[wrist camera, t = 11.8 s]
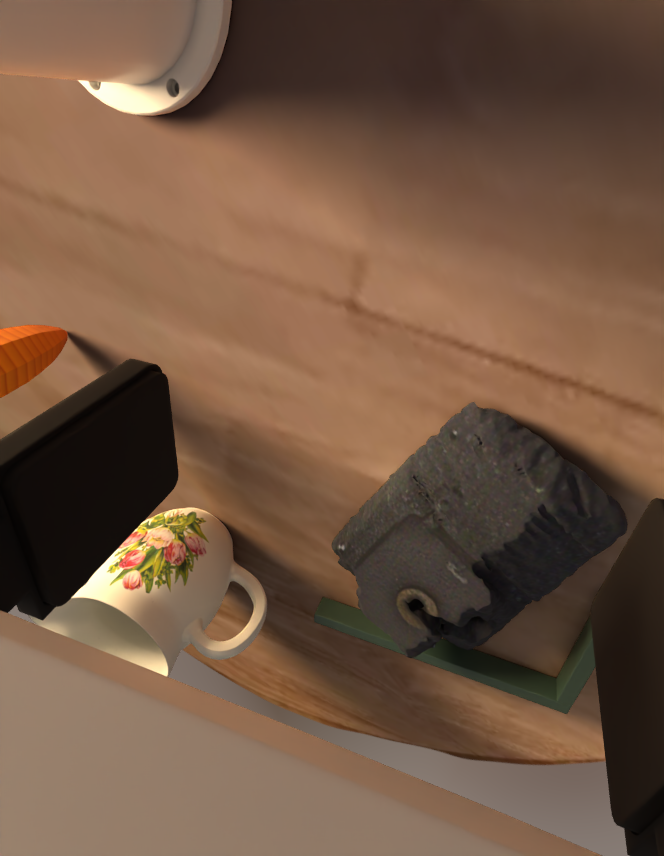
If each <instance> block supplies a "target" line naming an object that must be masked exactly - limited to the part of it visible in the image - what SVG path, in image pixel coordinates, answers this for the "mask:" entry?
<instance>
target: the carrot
mask: <svg viewBox="0 0 664 856" xmlns="http://www.w3.org/2000/svg"><path fill="white" fill-rule="evenodd" d="M66 341H67V332H66V331H65V330H63V329H61V328H57V327H51V326H45V325H25V326H18V327H11V328H5V329H0V398H1V397H3V396H5V395H7V394H9V393H10V392H12V391H14V390H15V389H17V388H19V387H20V386H22V385H24V384H26V383H27V382H29V381H30V380H31V379H33V378H34V377H35V376H37V375H38V374H39V373H41V372H42V371H43V370H44V369H45V368H46V367H48V366H49V365H50V364H51V363H52V362H53V361H54V360H55V359H56V358H57V356H58V355H59V354H60V352H61V351H62V349H63V347H64V345H65V343H66Z"/></svg>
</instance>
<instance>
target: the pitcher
mask: <svg viewBox="0 0 664 856" xmlns="http://www.w3.org/2000/svg"><path fill="white" fill-rule="evenodd" d="M231 581H235V582H237V583H239V584H240V585H241V586H243V587H244V588H245V589H246V591H247V592H248V594H249V596H250V598H251V599H252V602H253V605H254V610H253V614H252V616H251V619H250V621H249V622H248V624H247V625H246V627H245V628H244V629H243V630H242V631H241V632H240V633H239V634H238V635H237V636H235V637H234V638H232V639H230V640H227V641H222V642H221V641H215V640H213V639H211V638H209V637H208V636H207V635H206V634H205V632H204V630H205V629H206V627H207V626H208V625H209V624H210V622H211V621H212V619H213V618H214V616H215V615H216V613H217V611H218V609H219V607H220V606H221V604H222V601H223V599H224V596H225V594H226V591H227V589H228V586H229V583H230V582H231ZM266 613H267V598H266V594H265V591H264V589H263V587H262V585H261V583H260V582H259V581H258V579H257V578H256V577H255V576H254V575H252V574H251V573H250V572H248V571H247V570H246V569H244V568H243V567H241V566H239V565H238V564H237V563H236V562H235V561H234V560H233V541H232V538H231V535H230V533H229V531H228V530H227V528H226V527H225V526H224V524H223V523H222V522H221V521H220V520H218V519H217V518H216V517H215V516H213V515H212V514H210V513H208V512H206V511H204V510H201V509H198V508H184V509H174V510H170V511H166V512H164V513H161V514H159V515H156V516H154V517H152V518H150V519H148V520H146V521H144V522H142V523H141V524H140V525H139V527H138V528H137V529H136V530H135V531H134V532H133V533H132V534H131V535H130V536H129V537H128V538H127V539H126V540H125V541H124V543H123V544H122V545H121V546H120V547H119V548H118V549H117V550H116V551H115V552H114V553H113V554H112V555H111V556H110V557H109V559H108V560H107V561H106V562H105V563H104V564H103V565H102V566H101V567H100V568H99V569H98V570H97V571H96V572H95V573H94V575H93V576H92V577H91V578H90V579H89V581H88V583H87V584H86V585H85V586H84V587H82V588H81V589H79V590H78V592H77V593H76V594H75V595H74V596H73V597H72V598H71V599H70V600H69V601H68V602H67V603H66V604H64V605H62V606H59V607H55V608H54V609H53V611H52V612H51V613H50V614H49V615H48V616H47V617H46V618H45V619H44V620H43V621H42V620H40V619H37V618H35V617H32V616H30V615H28V616H29V617H30V619H31V620H32V621H33V622H34V623H35V624H37V625H39V626H41V627H44V628H46V629H49V630H51V631H54V632H56V633H59V634H61V635H64V636H66V637H69V638H71V639H74V640H76V641H79V642H81V643H84V644H86V645H89V646H91V647H94V648H96V649H99V650H102V651H104V652H107V653H109V654H112V655H114V656H117V657H119V658H122V659H124V660H127V661H129V662H132V663H134V664H137V665H139V666H142V667H144V668H147V669H149V670H152V671H154V672H157V673H159V674H162V675H164V676H167V677H168V676H169V675H170V673H171V670H172V668H173V666H174V663H175V661H176V659H177V657H178V655H179V653H180V651H181V650H182V649H184V648H185V647H187V646H188V645H189V644H190V643H192V644H193V645H194V647H195V648H196V649H197V650H198V651H199V652H200V653H202V654H203V655H205V656H206V657H209V658H211V659H218V660H221V659H228V658H230V657H233V656H236V655H237V654H239V653H241V652H242V651H243V650H245V649H246V648H247V647H248V646H249V645H250V644H251V643H252V642H253V640H254V639H255V638H256V637H257V635H258V633H259V632H260V630H261V628H262V626H263V623H264V621H265V618H266Z"/></svg>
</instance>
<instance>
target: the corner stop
mask: <svg viewBox="0 0 664 856" xmlns="http://www.w3.org/2000/svg"><path fill="white" fill-rule="evenodd" d="M314 622H316V623H319V624H321V625H324V626H327V627H330V628H332V629H335V630H338V631H341V632H343V633H346V634H349V635H352V636H354V637H357V638H360V639H362V640H365V641H368V642H371V643H373V644H376V645H379V646H382V647H384V648H387V649H390V650H393V651H395V652H398V653H401V654H404V655H405V653H403V652H402V651H401V650H400V649H399V647H398V646H397V644H396V643H395V642H394V641H393V640H392V638H391V636H390V635H389V634H386V633H385V632H384V631H383V630H382V629H380V628H379V627H377V626H376V625H375V624H374V623H373V622H371V621H370V620H369V619H368V618H367V617H366V616H365V615H364V614H363V613H362V611H361V610H359V609H357V608H354V607H351V606H348V605H345V604H342V603H339V602H337V601H334V600H331V599H328V598H325V597H323V598H322V600H321V602H320V604H319V606H318V608H317V610H316V612H315V616H314ZM414 659H417V660H420V661H423V662H425V663H428V664H431V665H434V666H436V667H439V668H442V669H445V670H447V671H450V672H453V673H456V674H458V675H461V676H464V677H466V678H469V679H472V680H475V681H477V682H480V683H483V684H486V685H488V686H491V687H494V688H497V689H499V690H502V691H505V692H508V693H510V694H513V695H516V696H518V697H521V698H524V699H527V700H529V701H532V702H535V703H538V704H540V705H543V706H546V707H549V708H551V709H554V710H557V711H559V712H562V713H565V714H567V713H568V712H569V710H570V708H571V706H572V705H573V703H574V702H575V700H576V698H577V697H578V695H579V693H580V692H581V690H582V688H583V687H584V685H585V683H586V682H587V680H588V678H589V677H590V675H591V673H592V672H593V670H594V668H595V667H596V666H595V657H594V648H593V638H592V629H591V619H590V617H589V619H588V620H587V622H586V624H585V626H584V628H583V630H582V632H581V633H580V635H579V637H578V639H577V641H576V643H575V645H574V646H573V648H572V650H571V652H570V654H569V656H568V658H567V660H566V661H565V663H564V665H563V667H562V669H561V671H560V673H559V674H558V676H557V678H554V677H551V676H548V675H545V674H542V673H539V672H537V671H534V670H531V669H528V668H525V667H522V666H519V665H517V664H514V663H511V662H508V661H505V660H502V659H499V658H497V657H494V656H491V655H488V654H485V653H482V652H479V651H477V650H474V649H472V650H466V649H464V648H460V647H458V646H456V645H455V644H453V643H450V642H449V641H448V640H445V639H442V638H441V640H440V641H439V642H436V645H435V648H430V649H428V650H426V651H424V652H422V653H421V654H420V655H418V656H416V657H414Z"/></svg>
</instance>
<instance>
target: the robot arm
mask: <svg viewBox="0 0 664 856" xmlns="http://www.w3.org/2000/svg"><path fill="white" fill-rule="evenodd" d="M231 7H232V0H0V74H4V75H17V76H30V77H43V78H56V79H68V80H78V81H79V82H80V83H81V84H82V85H83V86H84V87H85V88H86V89H87V90H88V91H89V92H90V93H91V94H93V95H94V96H95V97H97V98H98V99H99V100H101V101H102V102H103V103H105V104H107V105H109V106H111V107H113V108H115V109H117V110H119V111H121V112H125V113H130V114H134V115H146V116H155V115H161V114H167V113H171V112H173V111H175V110H177V109H179V108H181V107H183V106H185V105H187V104H188V103H189V102H190V101H191V100H192V99H194V98H195V97H196V96H197V95H198V94H199V93H200V92H201V91H202V89H203V88H204V87H205V85H206V84H207V83H208V81H209V80H210V79H211V77H212V75H213V73H214V71H215V69H216V67H217V64H218V62H219V60H220V58H221V55H222V52H223V48H224V45H225V42H226V38H227V35H228V29H229V22H230V14H231ZM179 88H180V89H179ZM177 481H178V465H177V456H176V447H175V439H174V430H173V421H172V412H171V403H170V394H169V385H168V379H167V377H166V375H165V374H163V373H162V370H161V369H160V367H159V366H158V365H156V364H152V363H148V362H144V361H140V360H136V359H129V360H126V361H125V362H123V363H122V364H120V365H118V366H117V367H115V368H114V369H112V370H110V371H109V372H107V373H106V374H104V375H102V376H101V377H99V378H98V379H96V380H94V381H93V382H91V383H90V384H88V385H87V386H85V387H83V388H82V389H80V390H79V391H77V392H75V393H74V394H72V395H71V396H69V397H67V398H66V399H64V400H63V401H61V402H59V403H58V404H56V405H55V406H53V407H51V408H50V409H48V410H47V411H45V412H43V413H42V414H40V415H39V416H37V417H35V418H34V419H32V420H31V421H29V422H27V423H26V424H24V425H23V426H21V427H20V428H18V429H16V430H15V431H13V432H12V433H10V434H8V435H7V436H5V437H4V438H2V439H0V856H602V855H599V854H597V853H595V852H592V851H590V850H588V849H585V848H583V847H580V846H578V845H576V844H573V843H571V842H569V841H566V840H564V839H562V838H560V837H557V836H555V835H553V834H550V833H548V832H546V831H543V830H541V829H538V828H536V827H534V826H532V825H529V824H527V823H525V822H522V821H520V820H518V819H515V818H513V817H510V816H508V815H506V814H503V813H501V812H498V811H496V810H493V809H491V808H489V807H486V806H483V805H481V804H479V803H477V802H474V801H472V800H469V799H466V798H464V797H462V796H459V795H457V794H454V793H452V792H450V791H447V790H445V789H442V788H440V787H437V786H435V785H433V784H430V783H427V782H425V781H423V780H420V779H418V778H415V777H413V776H411V775H408V774H406V773H403V772H401V771H398V770H396V769H393V768H391V767H389V766H386V765H384V764H381V763H379V762H376V761H374V760H371V759H369V758H366V757H364V756H362V755H359V754H357V753H354V752H352V751H350V750H347V749H345V748H342V747H340V746H337V745H335V744H332V743H330V742H328V741H325V740H323V739H320V738H318V737H315V736H312V735H310V734H307V733H305V732H303V731H300V730H298V729H295V728H293V727H290V726H288V725H285V724H283V723H280V722H278V721H275V720H273V719H271V718H268V717H266V716H263V715H261V714H258V713H256V712H253V711H251V710H248V709H246V708H243V707H241V706H239V705H236V704H234V703H231V702H229V701H226V700H224V699H221V698H219V697H216V696H214V695H211V694H209V693H206V692H204V691H201V690H199V689H196V688H194V687H191V686H189V685H186V684H184V683H181V682H179V681H176V680H174V679H172V678H169V677H167V676H164V675H162V674H159V673H157V672H154V671H152V670H149V669H147V668H144V667H142V666H139V665H137V664H134V663H132V662H129V661H127V660H124V659H122V658H119V657H117V656H114V655H112V654H109V653H107V652H104V651H102V650H99V649H96V648H94V647H91V646H89V645H86V644H84V643H81V642H79V641H76V640H74V639H71V638H69V637H66V636H64V635H61V634H59V633H56V632H54V631H51V630H49V629H46V628H44V627H41V626H39V625H36V624H34V623H31V622H28V621H26V620H23V619H21V618H18V617H16V616H13V615H11V614H8V612H9V611H10V610H11V609H12V608H13V607H14V606H15V605H17V607H18V610H19V611H20V612H23V613H25V614H27V615H30V616H32V617H35V618H37V619H40V620H42V621H43V620H44V619H45V618H46V617H47V616H48V615H49V614H50V613H51V612H52V611H53V609H54V608H55V607H59V606H62V605H64V604H66V603H67V602H68V601H69V600H70V599H71V598H72V597H73V596H74V595H75V594H76V593H77V592H78V590H79V589H80V588H81V587H82V586H83V585H84V584H85V583H86V582H87V581H88V580H89V579H90V578H91V577H92V576H93V575H94V573H95V572H96V571H97V570H98V569H99V568H100V567H101V566H102V565H103V564H104V563H105V562H106V561H107V560H108V559H109V557H110V556H111V555H112V554H113V553H114V552H115V551H116V550H117V549H118V548H119V547H120V546H121V545H122V544H123V543H124V541H125V540H126V539H127V538H128V537H129V536H130V535H131V534H132V533H133V532H134V531H135V530H136V529H137V528H138V527H139V525H140V524H141V523H142V522H143V521H144V520H145V519H146V518H147V517H148V516H149V515H150V514H151V513H152V512H153V511H154V510H155V508H156V507H157V506H158V505H159V504H160V503H161V502H162V501H163V500H164V499H165V498H166V497H167V496H168V495H169V494H170V492H171V491H172V490H173V489H174V487H175V486H176V483H177ZM590 619H591V629H592V638H593V648H594V657H595V666H596V675H597V684H598V694H599V703H600V712H601V721H602V730H603V739H604V749H605V758H606V767H607V776H608V784H609V795H610V804H611V811H612V816H613V819H614V822H615V823H616V824H617V825H618V826H621V827H623V828H624V829H625V838H626V846H627V854H628V855H630V856H664V499H659V498H655V499H653V500H652V501H651V502H650V504H649V505H648V507H647V509H646V511H645V512H644V514H643V516H642V517H641V519H640V521H639V523H638V524H637V526H636V528H635V530H634V531H633V533H632V535H631V536H630V538H629V540H628V542H627V543H626V545H625V547H624V548H623V550H622V552H621V554H620V555H619V557H618V559H617V561H616V562H615V564H614V566H613V567H612V569H611V571H610V573H609V574H608V576H607V578H606V579H605V581H604V583H603V585H602V586H601V588H600V590H599V592H598V593H597V595H596V597H595V599H594V601H593V604H592V608H591V615H590Z"/></svg>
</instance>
